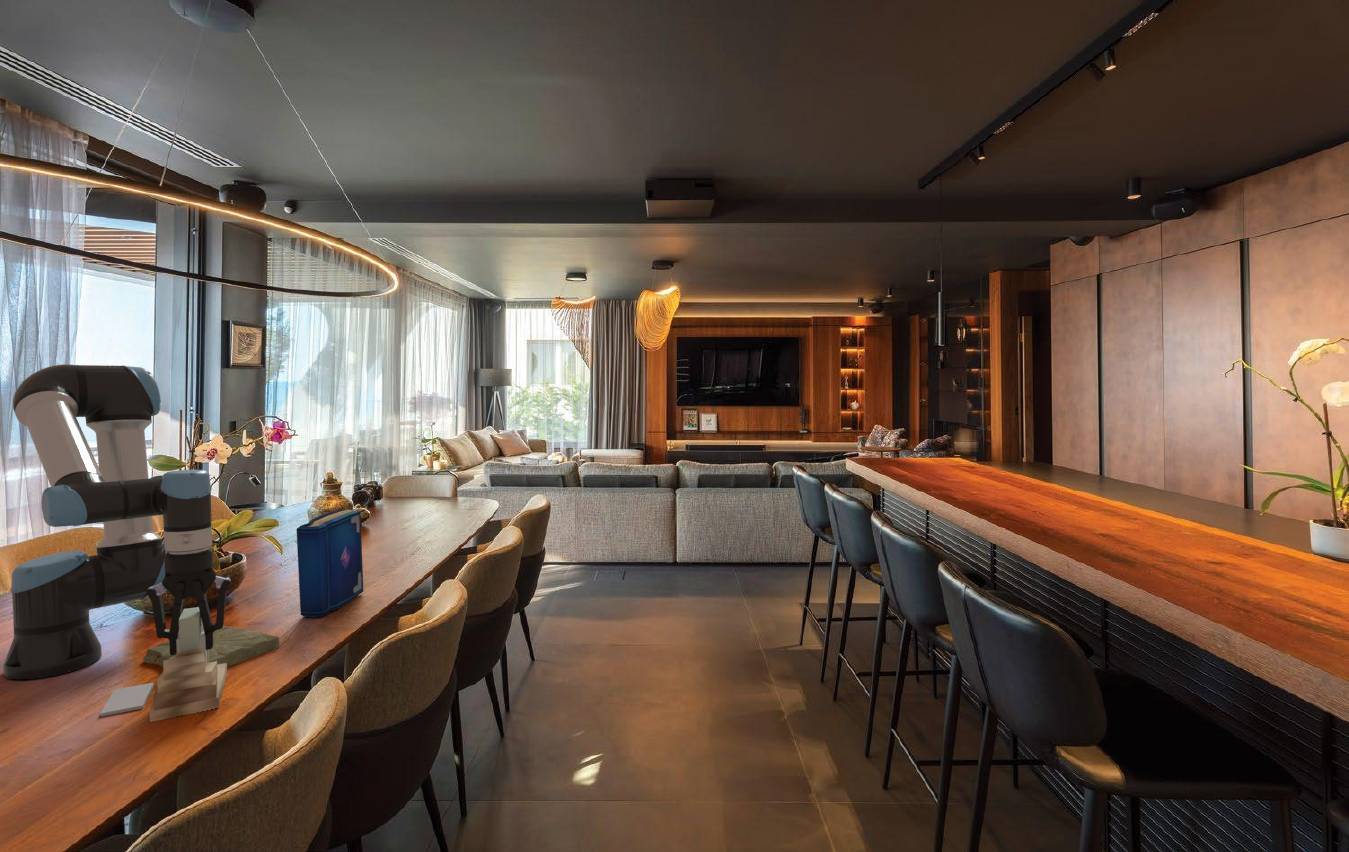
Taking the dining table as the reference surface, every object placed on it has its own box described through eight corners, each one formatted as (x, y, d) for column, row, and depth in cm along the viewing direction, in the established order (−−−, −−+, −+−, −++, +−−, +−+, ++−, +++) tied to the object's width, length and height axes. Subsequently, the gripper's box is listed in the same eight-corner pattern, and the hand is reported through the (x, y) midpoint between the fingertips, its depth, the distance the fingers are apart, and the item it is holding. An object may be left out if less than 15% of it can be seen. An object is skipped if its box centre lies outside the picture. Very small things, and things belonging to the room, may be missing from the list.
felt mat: (100, 716, 117) (100, 713, 117) (114, 692, 126) (114, 689, 126) (143, 708, 120) (143, 705, 120) (153, 685, 129) (153, 682, 129)
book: (322, 620, 167) (320, 523, 165) (295, 620, 167) (292, 523, 165) (364, 594, 188) (362, 508, 187) (340, 594, 188) (338, 508, 187)
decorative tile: (222, 636, 157) (222, 621, 157) (281, 648, 149) (280, 633, 149) (134, 666, 140) (133, 650, 139) (195, 681, 132) (194, 664, 132)
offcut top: (163, 680, 115) (163, 669, 115) (163, 671, 119) (163, 660, 119) (205, 671, 119) (205, 660, 119) (203, 662, 123) (203, 652, 123)
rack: (149, 722, 115) (147, 671, 114) (166, 683, 130) (164, 638, 130) (218, 708, 120) (217, 660, 119) (227, 672, 135) (225, 629, 135)
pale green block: (180, 681, 124) (178, 619, 124) (185, 667, 130) (183, 608, 130) (200, 678, 126) (198, 617, 125) (204, 664, 132) (202, 606, 131)
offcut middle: (157, 693, 116) (157, 679, 116) (165, 682, 120) (165, 668, 120) (212, 684, 119) (211, 671, 119) (217, 674, 124) (217, 661, 124)
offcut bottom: (153, 710, 115) (153, 696, 115) (157, 697, 120) (157, 684, 120) (216, 697, 120) (215, 684, 120) (217, 685, 125) (216, 672, 125)
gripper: (131, 559, 119) (136, 684, 121) (237, 549, 128) (240, 666, 129) (139, 550, 126) (144, 669, 127) (239, 541, 134) (242, 652, 135)
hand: (192, 667), depth 128 cm, fingers closed on pale green block, 3 cm apart
